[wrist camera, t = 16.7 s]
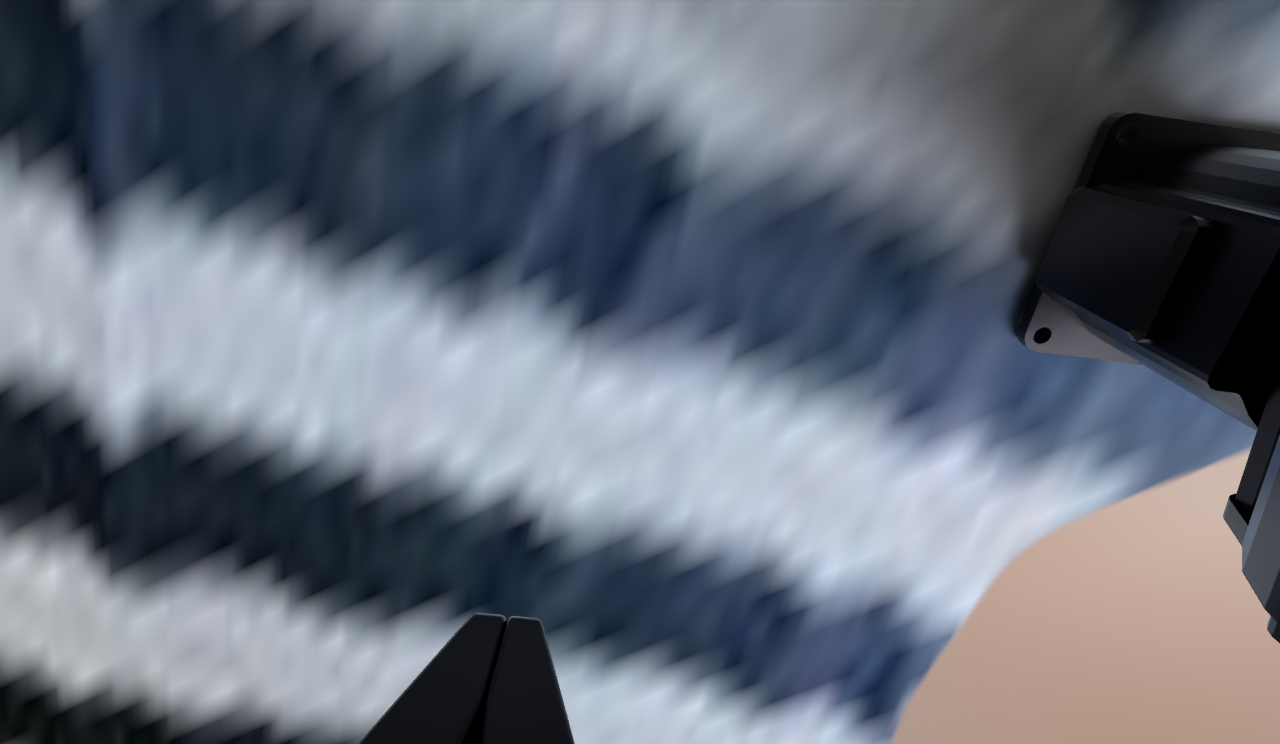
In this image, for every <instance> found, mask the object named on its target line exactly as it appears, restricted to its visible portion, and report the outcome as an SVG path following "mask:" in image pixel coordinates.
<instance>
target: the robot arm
mask: <svg viewBox="0 0 1280 744" xmlns="http://www.w3.org/2000/svg"><path fill="white" fill-rule="evenodd" d="M1124 125H1126V128H1127V131H1126V135H1125V136H1124V138H1123V139H1122V140H1121V141H1119V142H1118V141H1117V139H1116V137H1117V133H1118V131H1119V130H1120V128H1121V127H1123V126H1124ZM1040 328H1044V329H1043V333H1042V334H1041V335H1040V336H1039V337H1037V338H1033V337H1034V334H1035V332H1036V331H1037V330H1038V329H1040ZM1017 336H1018V340H1019V341H1020V342H1021V343H1022V344H1023V345H1024V346H1026V347H1027V348H1028V349H1030V350H1033V351H1036V352H1043V353H1052V354H1060V355H1068V356H1076V357H1084V358H1092V359H1100V360H1108V361H1116V362H1125V363H1133V364H1141V365H1144V366H1146V367H1148V368H1150V369H1151V370H1153V371H1155V372H1156V373H1158V374H1160V375H1162V376H1163V377H1165V378H1167V379H1168V380H1170V381H1172V382H1174V383H1175V384H1177V385H1179V386H1180V387H1182V388H1184V389H1185V390H1187V391H1189V392H1191V393H1192V394H1194V395H1196V396H1197V397H1199V398H1201V399H1203V400H1204V401H1206V402H1208V403H1209V404H1211V405H1213V406H1214V407H1216V408H1218V409H1220V410H1221V411H1223V412H1225V413H1226V414H1228V415H1230V416H1232V417H1233V418H1235V419H1237V420H1238V421H1240V422H1242V423H1244V424H1245V425H1247V426H1249V427H1250V428H1252V429H1254V430H1255V431H1257V433H1256V436H1255V439H1254V442H1253V445H1252V448H1251V451H1250V454H1249V457H1248V461H1247V463H1246V466H1245V470H1244V473H1243V476H1242V479H1241V482H1240V485H1239V488H1238V491H1237V494H1233V495H1230V497H1229V499H1228V502H1227V505H1226V508H1225V511H1224V514H1223V517H1224V520H1225V521H1226V523H1227V524H1228V526H1229V527H1230V529H1231V530H1232V532H1233V533H1234V535H1235V536H1236V538H1237V539H1238V541H1239V543H1240V544H1241V545H1242V572H1243V574H1244V575H1245V577H1246V579H1247V580H1248V582H1249V584H1250V585H1251V587H1252V589H1253V590H1254V592H1255V594H1256V595H1257V597H1258V599H1259V600H1260V602H1261V604H1262V605H1263V607H1264V609H1265V610H1266V611H1267V612H1268V613H1269V614H1270V615H1271V617H1270V619H1269V622H1268V627H1267V630H1268V631H1269V633H1270V634H1271V636H1272V637H1273V638H1274V639H1276V640H1277V641H1278V642H1279V643H1280V134H1273V133H1267V132H1260V131H1253V130H1246V129H1240V128H1233V127H1226V126H1219V125H1212V124H1206V123H1199V122H1192V121H1185V120H1179V119H1172V118H1165V117H1158V116H1151V115H1145V114H1138V113H1128V112H1121V113H1116V114H1113V115H1111V116H1109V117H1108V118H1107V119H1106V120H1105V121H1104V122H1103V123H1102V124H1101V126H1100V128H1099V129H1098V131H1097V134H1096V136H1095V139H1094V141H1093V144H1092V146H1091V149H1090V151H1089V154H1088V156H1087V159H1086V161H1085V164H1084V166H1083V169H1082V171H1081V174H1080V176H1079V179H1078V181H1077V184H1076V186H1075V189H1074V191H1073V193H1071V194H1070V195H1069V197H1068V200H1067V202H1066V205H1065V207H1064V210H1063V212H1062V215H1061V217H1060V220H1059V222H1058V225H1057V227H1056V230H1055V232H1054V235H1053V237H1052V240H1051V242H1050V245H1049V247H1048V250H1047V252H1046V255H1045V257H1044V260H1043V262H1042V265H1041V267H1040V270H1039V272H1038V275H1037V277H1036V286H1035V288H1034V291H1033V293H1032V296H1031V298H1030V301H1029V303H1028V306H1027V308H1026V311H1025V313H1024V316H1023V318H1022V321H1021V323H1020V326H1019V328H1018V333H1017ZM358 744H575V743H574V740H573V736H572V732H571V729H570V725H569V721H568V717H567V714H566V710H565V706H564V702H563V699H562V695H561V691H560V688H559V684H558V680H557V676H556V673H555V669H554V665H553V661H552V658H551V654H550V650H549V647H548V643H547V639H546V635H545V632H544V628H543V624H542V622H541V621H540V620H539V619H537V618H530V617H519V616H511V617H509V619H508V620H507V619H506V617H504V616H503V615H498V614H487V613H475V614H473V615H472V616H471V617H470V618H469V619H468V620H467V621H466V622H465V623H464V624H463V625H462V627H461V628H460V629H459V630H458V631H457V632H456V633H455V634H454V636H453V637H452V638H451V639H450V640H449V641H448V642H447V644H446V645H445V646H444V647H443V648H442V649H441V650H440V651H439V653H438V654H437V655H436V656H435V657H434V658H433V659H432V661H431V662H430V663H429V664H428V665H427V666H426V667H425V668H424V670H423V671H422V672H421V673H420V674H419V675H418V676H417V678H416V679H415V680H414V681H413V682H412V683H411V684H410V685H409V687H408V688H407V689H406V690H405V691H404V692H403V693H402V695H401V696H400V697H399V698H398V699H397V700H396V701H395V702H394V704H393V705H392V706H391V707H390V708H389V709H388V710H387V712H386V713H385V714H384V715H383V716H382V717H381V718H380V719H379V721H378V722H377V723H376V724H375V725H374V726H373V727H372V729H371V730H370V731H369V732H368V733H367V734H366V735H365V737H364V738H363V739H362V740H361V741H360V742H359V743H358Z"/></svg>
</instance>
